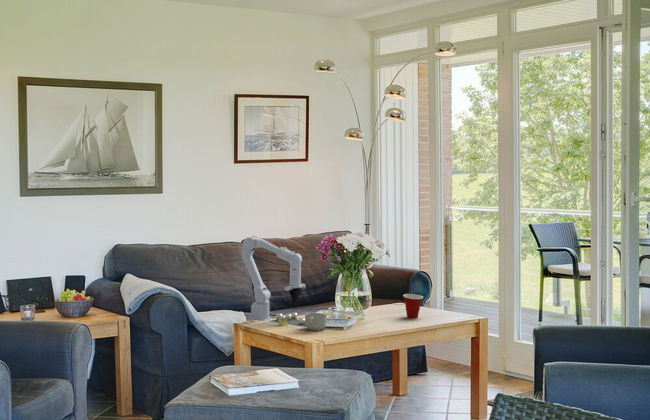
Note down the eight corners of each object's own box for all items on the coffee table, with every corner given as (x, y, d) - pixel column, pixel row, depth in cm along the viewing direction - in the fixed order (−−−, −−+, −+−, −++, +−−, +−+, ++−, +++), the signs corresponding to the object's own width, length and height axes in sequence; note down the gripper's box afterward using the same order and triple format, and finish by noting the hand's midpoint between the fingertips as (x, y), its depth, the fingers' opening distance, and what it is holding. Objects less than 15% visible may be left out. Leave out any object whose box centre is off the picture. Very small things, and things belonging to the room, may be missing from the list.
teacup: (311, 327, 430) (311, 311, 430) (330, 329, 425) (330, 313, 425) (297, 331, 418) (297, 315, 418) (317, 334, 413) (317, 317, 413)
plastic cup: (416, 320, 453) (416, 297, 453) (398, 317, 460) (399, 295, 459) (426, 317, 462) (427, 295, 461) (409, 314, 469) (409, 293, 468)
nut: (276, 325, 431) (276, 319, 431) (280, 323, 435) (280, 317, 435) (285, 326, 429) (285, 320, 429) (289, 324, 433) (289, 318, 433)
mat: (261, 323, 437) (261, 322, 437) (286, 318, 453) (286, 317, 453) (298, 329, 423) (298, 328, 423) (322, 323, 439) (322, 323, 439)
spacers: (272, 320, 444) (272, 314, 444) (287, 317, 454) (287, 311, 454) (308, 326, 430) (308, 320, 429) (323, 322, 440) (324, 316, 440)
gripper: (292, 279, 435) (291, 305, 436) (310, 276, 446) (309, 302, 447) (281, 277, 439) (281, 303, 440) (299, 275, 451) (299, 300, 451)
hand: (294, 302), depth 444 cm, fingers closed
